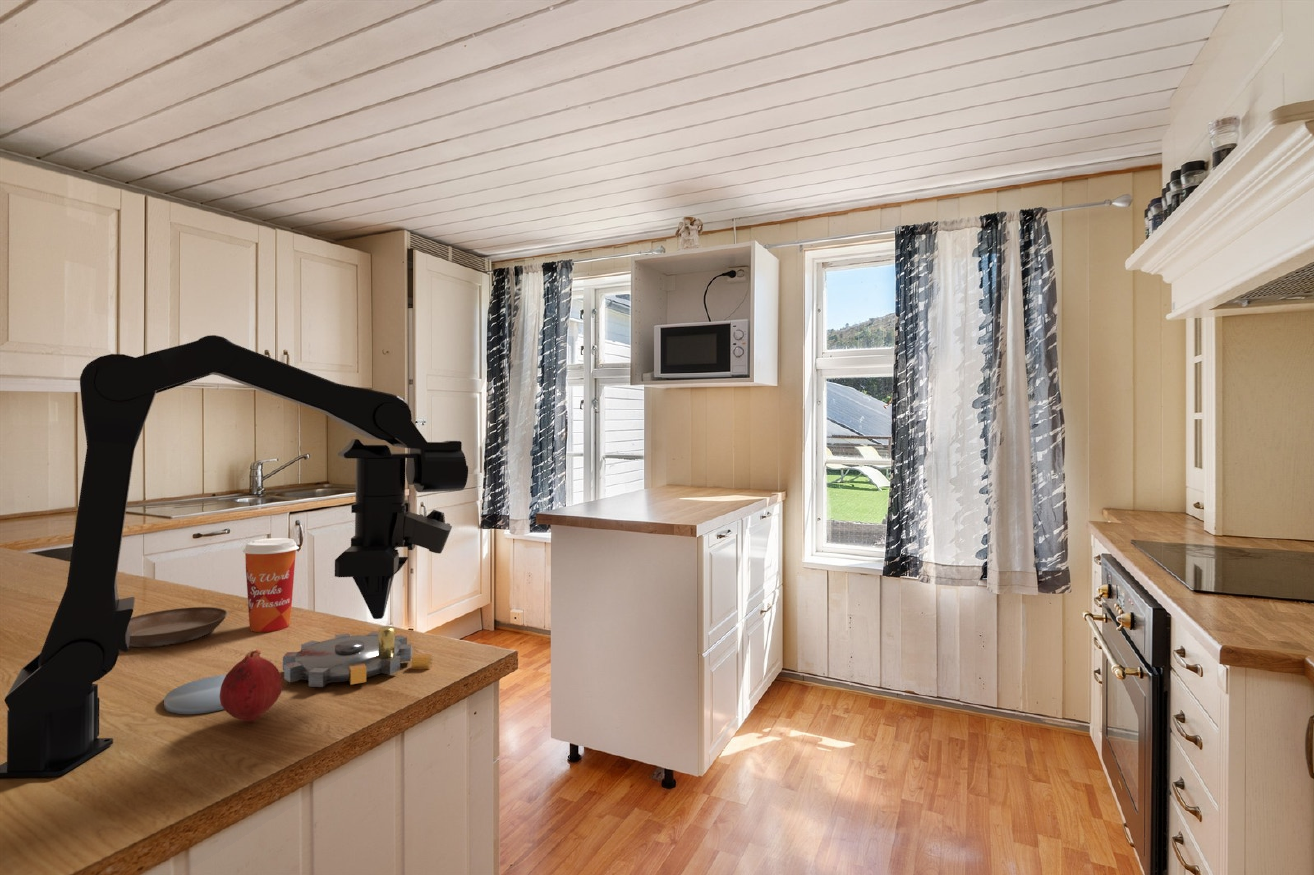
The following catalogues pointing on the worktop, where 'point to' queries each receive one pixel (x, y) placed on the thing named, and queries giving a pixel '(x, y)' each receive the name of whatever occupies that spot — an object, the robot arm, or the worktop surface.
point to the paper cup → (270, 582)
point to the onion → (250, 687)
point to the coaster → (196, 696)
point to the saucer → (173, 625)
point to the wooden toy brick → (422, 661)
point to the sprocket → (347, 658)
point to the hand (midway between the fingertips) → (378, 618)
